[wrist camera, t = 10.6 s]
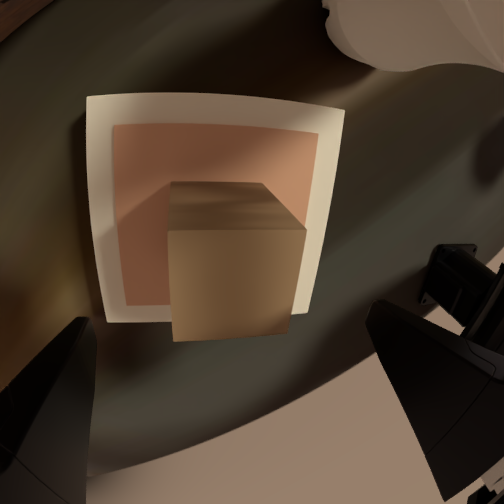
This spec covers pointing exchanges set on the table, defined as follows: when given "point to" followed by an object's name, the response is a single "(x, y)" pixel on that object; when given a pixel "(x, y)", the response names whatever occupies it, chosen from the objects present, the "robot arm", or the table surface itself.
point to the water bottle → (418, 32)
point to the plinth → (197, 169)
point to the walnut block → (231, 260)
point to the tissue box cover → (17, 13)
